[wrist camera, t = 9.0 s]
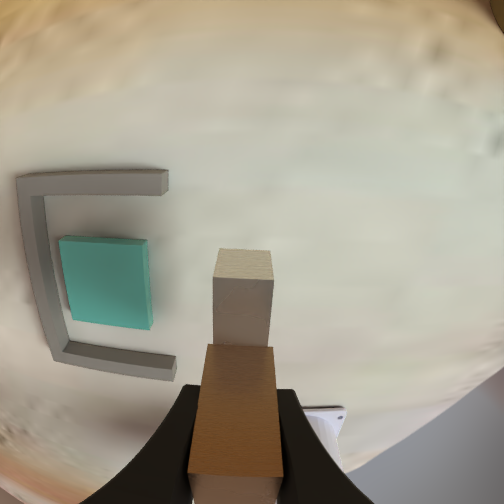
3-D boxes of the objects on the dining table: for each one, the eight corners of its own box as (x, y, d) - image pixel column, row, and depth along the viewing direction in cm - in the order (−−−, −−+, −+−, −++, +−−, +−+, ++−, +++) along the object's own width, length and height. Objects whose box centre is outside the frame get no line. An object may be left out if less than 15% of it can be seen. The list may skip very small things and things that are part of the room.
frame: (176, 368, 23) (173, 381, 22) (61, 350, 23) (53, 360, 21) (168, 170, 18) (161, 173, 16) (28, 173, 17) (16, 178, 16)
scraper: (261, 391, 16) (265, 530, 9) (215, 389, 16) (201, 527, 9) (275, 250, 13) (301, 412, 6) (214, 248, 13) (174, 407, 6)
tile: (154, 318, 22) (149, 330, 21) (81, 309, 22) (72, 319, 20) (149, 237, 20) (142, 245, 18) (69, 233, 20) (58, 240, 18)
